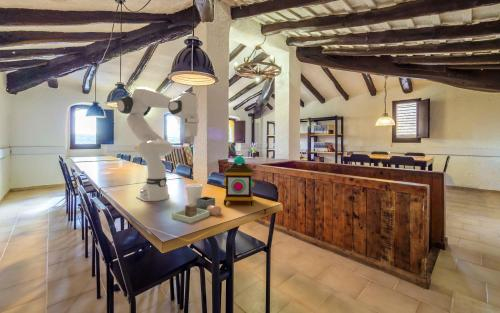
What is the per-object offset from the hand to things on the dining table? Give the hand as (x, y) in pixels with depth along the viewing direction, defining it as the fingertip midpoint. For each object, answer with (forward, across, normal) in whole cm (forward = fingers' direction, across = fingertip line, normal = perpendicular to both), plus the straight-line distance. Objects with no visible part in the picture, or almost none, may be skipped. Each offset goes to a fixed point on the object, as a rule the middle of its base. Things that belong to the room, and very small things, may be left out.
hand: (190, 144), depth 138 cm
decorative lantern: (+37, +1, +30) cm, 48 cm away
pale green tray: (+37, +20, -4) cm, 42 cm away
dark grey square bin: (+37, +11, +6) cm, 39 cm away
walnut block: (+36, +20, -4) cm, 42 cm away
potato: (+37, +20, +8) cm, 43 cm away
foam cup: (+37, +1, +2) cm, 37 cm away
